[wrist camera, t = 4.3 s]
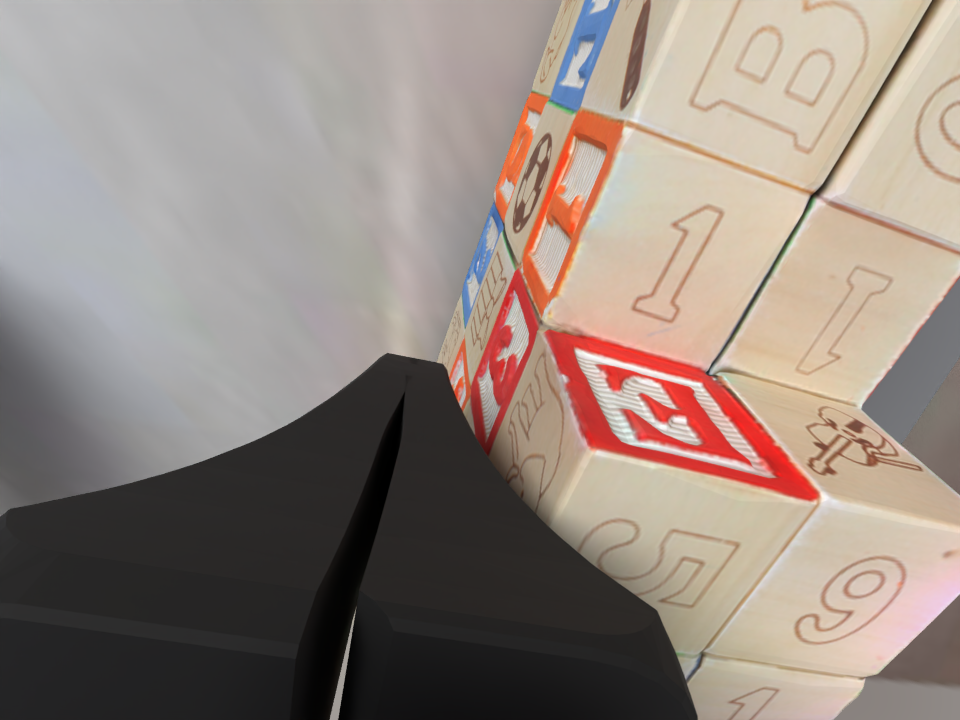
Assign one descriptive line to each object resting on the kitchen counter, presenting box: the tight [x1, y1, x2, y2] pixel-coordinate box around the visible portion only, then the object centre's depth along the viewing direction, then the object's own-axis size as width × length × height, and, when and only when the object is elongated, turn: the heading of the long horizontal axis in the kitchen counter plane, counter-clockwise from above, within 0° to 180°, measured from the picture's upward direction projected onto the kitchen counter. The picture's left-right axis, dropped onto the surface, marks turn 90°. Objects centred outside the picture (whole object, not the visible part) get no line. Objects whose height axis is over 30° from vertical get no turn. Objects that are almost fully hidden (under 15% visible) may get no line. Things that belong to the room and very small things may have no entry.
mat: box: [861, 278, 960, 444], centre depth 19 cm, size 10×12×1 cm
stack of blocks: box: [437, 0, 960, 720], centre depth 13 cm, size 21×6×12 cm, turn 161°
